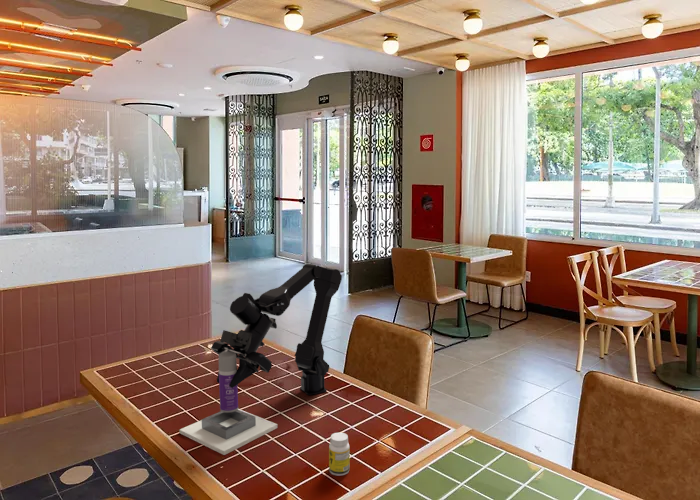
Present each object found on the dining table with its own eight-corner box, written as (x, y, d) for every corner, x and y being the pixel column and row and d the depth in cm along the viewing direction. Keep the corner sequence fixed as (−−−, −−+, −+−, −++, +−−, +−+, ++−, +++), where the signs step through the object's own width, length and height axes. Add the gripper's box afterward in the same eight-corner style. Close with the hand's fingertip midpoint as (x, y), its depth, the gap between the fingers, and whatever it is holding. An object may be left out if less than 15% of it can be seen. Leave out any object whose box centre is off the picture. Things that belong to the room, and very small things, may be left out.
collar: (231, 415, 149) (231, 406, 149) (255, 425, 143) (255, 416, 143) (201, 428, 141) (201, 419, 141) (226, 439, 135) (226, 430, 135)
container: (227, 414, 138) (225, 358, 136) (216, 409, 141) (214, 354, 139) (241, 408, 142) (240, 353, 140) (231, 403, 145) (229, 350, 143)
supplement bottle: (328, 465, 126) (328, 431, 125) (348, 464, 126) (348, 430, 125) (329, 476, 121) (329, 441, 120) (350, 475, 121) (350, 441, 120)
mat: (233, 409, 155) (233, 406, 155) (277, 427, 144) (277, 424, 144) (179, 433, 141) (179, 429, 141) (224, 455, 130) (224, 451, 130)
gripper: (214, 312, 147) (182, 362, 140) (262, 324, 136) (230, 379, 129) (238, 333, 154) (208, 381, 147) (285, 345, 143) (255, 399, 136)
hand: (224, 384), depth 140 cm, fingers closed on container, 5 cm apart
